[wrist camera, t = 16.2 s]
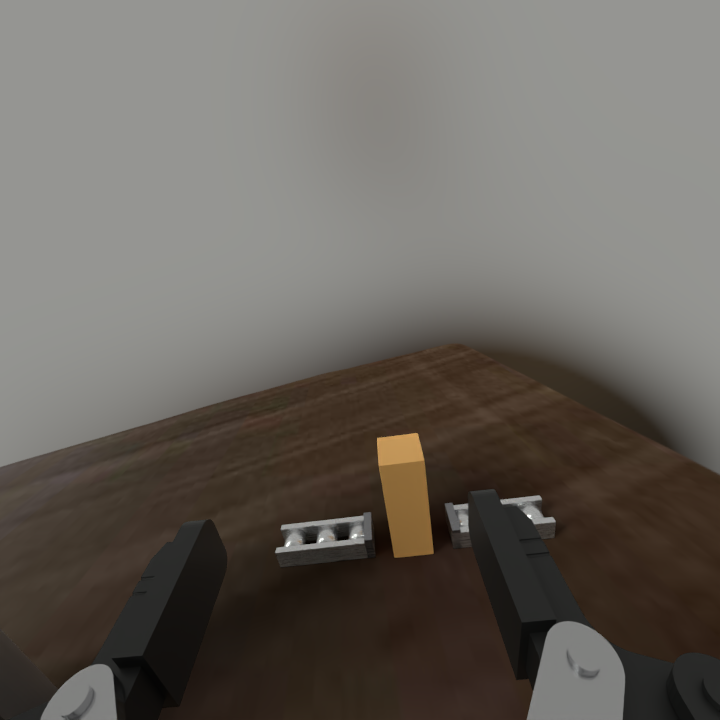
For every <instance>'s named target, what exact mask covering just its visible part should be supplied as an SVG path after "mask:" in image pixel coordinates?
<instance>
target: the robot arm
mask: <svg viewBox="0 0 720 720" xmlns="http://www.w3.org/2000/svg"><path fill="white" fill-rule="evenodd" d="M468 527H469V535H470V540H471V544H472V548H473V551H474V554H475V557H476V560H477V563H478V566H479V569H480V572H481V575H482V578H483V581H484V584H485V587H486V590H487V593H488V596H489V599H490V602H491V605H492V608H493V611H494V614H495V617H496V620H497V623H498V626H499V629H500V632H501V635H502V638H503V641H504V644H505V647H506V650H507V653H508V656H509V659H510V662H511V665H512V668H513V671H514V674H515V677H516V680H521V679H529V681H530V683H531V686H532V689H533V696H532V700H531V704H530V708H529V713H528V717H527V720H720V660H719V659H717V658H714V657H712V656H709V655H705V654H701V653H686V654H683V655H681V656H680V657H678V658H677V659H676V661H675V663H670V662H666V661H663V660H659V659H655V658H651V657H647V656H644V655H640V654H636V653H633V652H630V651H627V650H624V649H622V648H620V647H618V646H616V645H614V644H613V643H611V642H609V641H608V640H607V639H605V638H604V637H603V636H601V635H600V634H599V633H598V632H597V631H596V630H595V629H594V628H593V627H592V626H591V625H590V624H589V622H588V621H587V620H586V618H585V617H584V615H583V613H582V612H581V610H580V608H579V606H578V604H577V602H576V601H575V599H574V597H573V595H572V593H571V591H570V590H569V588H568V586H567V584H566V582H565V580H564V579H563V577H562V575H561V573H560V571H559V569H558V567H557V566H556V564H555V562H554V560H553V558H552V556H550V554H549V551H548V549H547V547H546V545H545V544H544V542H543V541H542V539H541V536H540V534H539V533H538V531H537V529H536V527H535V525H534V523H533V521H532V520H531V519H530V518H529V517H528V516H527V515H526V514H525V513H524V512H523V511H521V510H520V509H519V508H518V507H517V506H511V507H503V505H502V503H501V501H500V499H499V497H498V495H497V493H496V491H495V490H494V489H488V490H479V491H470V492H469V493H468ZM226 568H227V553H226V549H225V547H224V545H223V543H222V540H221V538H220V536H219V534H218V531H217V529H216V527H215V525H214V523H213V521H212V520H210V519H208V520H199V521H190V522H185V523H184V524H183V525H182V526H181V528H180V529H179V531H178V533H177V535H176V537H175V539H174V541H173V542H167V543H166V544H165V545H164V546H163V547H162V548H161V549H160V550H159V552H158V553H157V554H156V555H155V556H154V557H153V558H152V559H151V561H150V563H149V564H148V566H147V568H146V570H145V571H144V573H143V575H142V577H141V581H139V582H138V584H137V586H136V587H135V589H134V591H133V595H132V597H130V598H129V600H128V602H127V603H126V605H125V607H124V609H123V611H122V612H121V614H120V616H119V618H118V619H117V621H116V623H115V625H114V627H113V628H112V630H111V632H110V634H109V635H108V637H107V639H106V641H105V642H104V644H103V646H102V648H101V650H100V651H99V653H98V655H97V657H96V658H95V660H94V661H93V663H92V664H91V666H89V667H87V668H85V669H83V670H81V671H79V672H78V673H76V674H75V675H74V676H72V677H71V678H70V679H69V680H68V681H67V682H65V683H64V684H63V685H62V686H61V688H60V689H59V690H58V689H57V688H56V687H55V686H54V685H53V684H52V683H51V681H50V680H49V679H48V678H47V677H46V676H45V675H44V674H43V673H42V672H41V671H40V670H39V669H38V668H37V667H36V666H35V664H34V663H33V662H32V661H31V660H30V659H29V658H28V657H27V656H26V655H25V654H24V653H23V652H22V651H21V650H20V649H19V648H18V647H17V646H16V645H15V644H14V642H13V641H12V640H11V639H10V638H9V637H8V636H7V635H6V634H5V633H4V632H3V631H2V630H1V629H0V720H158V717H159V715H160V712H161V709H162V708H166V707H178V706H180V703H181V700H182V697H183V694H184V691H185V688H186V685H187V682H188V680H189V677H190V674H191V671H192V668H193V665H194V662H195V659H196V656H197V654H198V651H199V648H200V645H201V642H202V639H203V636H204V633H205V630H206V628H207V625H208V622H209V619H210V616H211V613H212V610H213V607H214V604H215V602H216V599H217V596H218V593H219V590H220V587H221V584H222V581H223V578H224V576H225V572H226Z"/></svg>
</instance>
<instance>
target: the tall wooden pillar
mask: <svg viewBox="0 0 720 720" xmlns="http://www.w3.org/2000/svg"><path fill="white" fill-rule="evenodd" d="M377 446H378V461H379V470H380V476H381V482H382V488H383V494H384V499H385V505H386V511H387V517H388V523H389V529H390V535H391V541H392V547H393V553H394V558H399V557H409V556H418V555H428V554H434V551H433V541H432V531H431V521H430V511H429V501H428V492H427V482H426V472H425V462H424V457H423V453H422V449H421V445H420V441H419V437H418V433H414V434H406V435H398V436H390V437H382V438H377Z"/></svg>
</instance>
